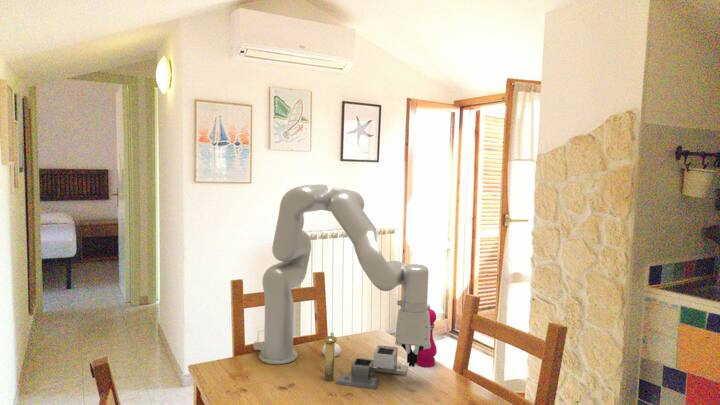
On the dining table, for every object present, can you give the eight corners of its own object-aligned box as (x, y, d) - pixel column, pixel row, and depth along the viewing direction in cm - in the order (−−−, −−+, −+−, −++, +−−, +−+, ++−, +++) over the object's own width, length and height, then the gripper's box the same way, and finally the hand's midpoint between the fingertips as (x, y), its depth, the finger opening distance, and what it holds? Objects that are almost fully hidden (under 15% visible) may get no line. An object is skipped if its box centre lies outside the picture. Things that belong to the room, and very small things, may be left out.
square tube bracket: (363, 378, 149) (364, 352, 149) (371, 364, 160) (371, 339, 160) (402, 384, 146) (403, 357, 146) (407, 368, 158) (408, 343, 157)
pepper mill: (435, 368, 159) (438, 308, 157) (413, 366, 160) (415, 306, 159) (436, 360, 166) (439, 302, 164) (415, 357, 167) (417, 300, 166)
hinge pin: (321, 381, 147) (322, 339, 146) (325, 375, 151) (326, 335, 150) (333, 382, 146) (334, 341, 145) (336, 377, 150) (338, 336, 149)
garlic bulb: (330, 360, 164) (332, 338, 163) (317, 353, 168) (320, 331, 167) (343, 355, 169) (345, 333, 167) (331, 349, 173) (333, 327, 172)
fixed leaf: (336, 383, 146) (336, 370, 145) (346, 368, 157) (346, 356, 156) (376, 389, 143) (376, 376, 143) (383, 373, 154) (383, 361, 154)
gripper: (387, 307, 145) (385, 367, 147) (438, 312, 142) (435, 373, 143) (391, 300, 152) (389, 357, 154) (440, 304, 149) (437, 363, 151)
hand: (412, 365), depth 149 cm, fingers closed
